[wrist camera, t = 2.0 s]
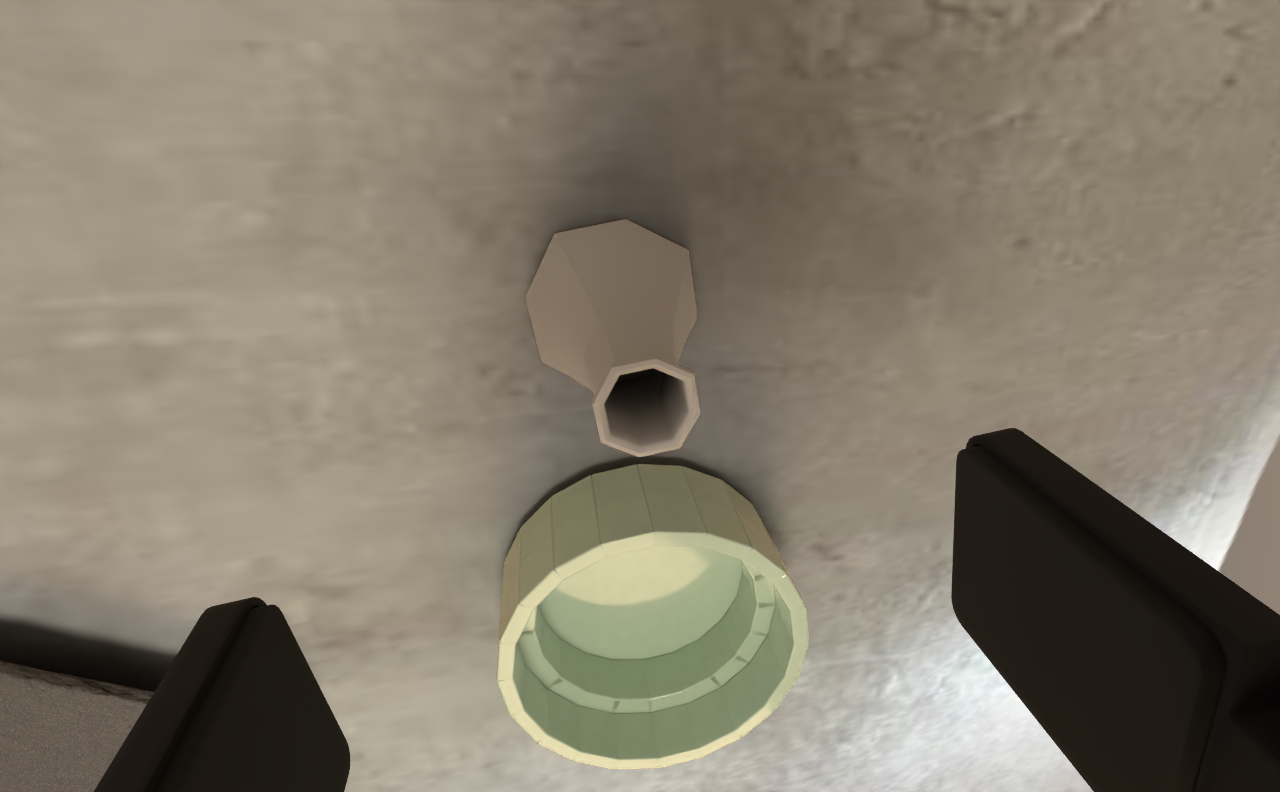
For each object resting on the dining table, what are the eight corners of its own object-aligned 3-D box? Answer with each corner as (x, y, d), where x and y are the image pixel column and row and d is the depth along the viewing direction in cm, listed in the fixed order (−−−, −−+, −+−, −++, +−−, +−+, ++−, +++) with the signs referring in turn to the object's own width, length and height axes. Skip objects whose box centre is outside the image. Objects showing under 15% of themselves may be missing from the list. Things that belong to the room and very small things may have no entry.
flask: (712, 228, 28) (794, 303, 19) (681, 390, 31) (740, 520, 22) (533, 205, 27) (532, 274, 18) (518, 376, 30) (511, 508, 21)
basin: (752, 427, 33) (795, 498, 27) (778, 636, 39) (818, 728, 33) (469, 492, 32) (456, 578, 27) (540, 694, 38) (541, 798, 33)
